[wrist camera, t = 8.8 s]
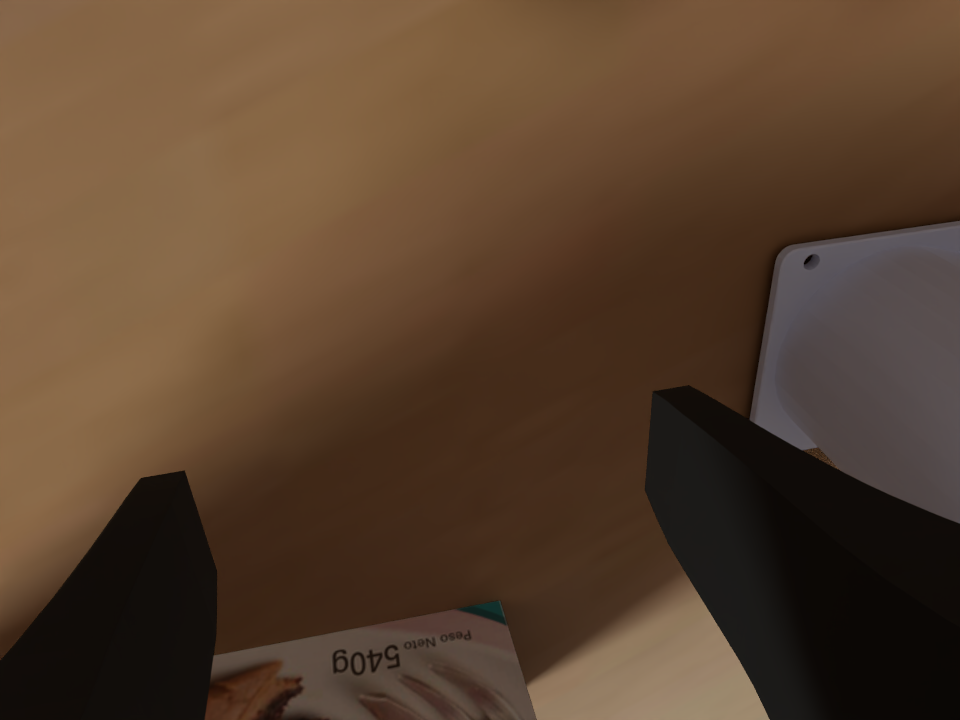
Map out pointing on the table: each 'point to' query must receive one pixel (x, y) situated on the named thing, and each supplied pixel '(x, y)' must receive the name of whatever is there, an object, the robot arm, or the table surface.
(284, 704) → the cake mix box
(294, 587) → the table surface
